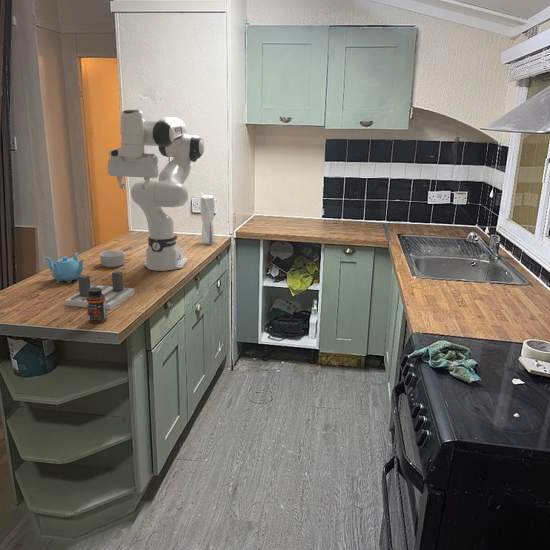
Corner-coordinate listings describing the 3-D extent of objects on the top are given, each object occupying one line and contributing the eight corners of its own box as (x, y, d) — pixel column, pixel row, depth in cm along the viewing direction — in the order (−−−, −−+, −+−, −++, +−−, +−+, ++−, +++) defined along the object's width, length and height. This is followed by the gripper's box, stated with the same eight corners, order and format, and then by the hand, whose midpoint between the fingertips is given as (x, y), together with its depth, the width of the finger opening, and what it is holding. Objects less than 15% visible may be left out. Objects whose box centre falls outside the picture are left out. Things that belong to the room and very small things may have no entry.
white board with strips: (93, 289, 200) (92, 283, 199) (134, 293, 196) (134, 287, 195) (65, 305, 183) (64, 298, 182) (110, 309, 179) (109, 303, 178)
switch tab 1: (83, 294, 188) (81, 275, 186) (91, 294, 188) (89, 275, 185) (79, 296, 186) (77, 276, 184) (87, 296, 185) (85, 277, 183)
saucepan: (141, 258, 244) (140, 247, 242) (115, 269, 226) (114, 257, 225) (122, 256, 248) (121, 245, 246) (94, 266, 230) (93, 254, 228)
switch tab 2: (116, 289, 194) (115, 270, 192) (123, 290, 193) (122, 271, 191) (113, 291, 192) (111, 272, 189) (120, 292, 191) (118, 273, 189)
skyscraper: (197, 244, 274) (196, 193, 266) (203, 241, 282) (202, 191, 273) (211, 245, 272) (210, 194, 264) (217, 242, 279) (217, 192, 271)
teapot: (86, 282, 208) (84, 258, 205) (52, 287, 202) (50, 262, 199) (79, 274, 219) (77, 251, 216) (47, 278, 212) (44, 255, 209)
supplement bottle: (87, 324, 166) (84, 292, 163) (88, 318, 172) (85, 286, 168) (106, 323, 168) (103, 291, 164) (107, 316, 173) (104, 285, 170)
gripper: (161, 154, 196) (161, 189, 199) (113, 152, 200) (114, 187, 203) (153, 153, 190) (154, 190, 193) (104, 151, 194) (105, 187, 197)
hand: (133, 188), depth 198 cm, fingers open, 8 cm apart
